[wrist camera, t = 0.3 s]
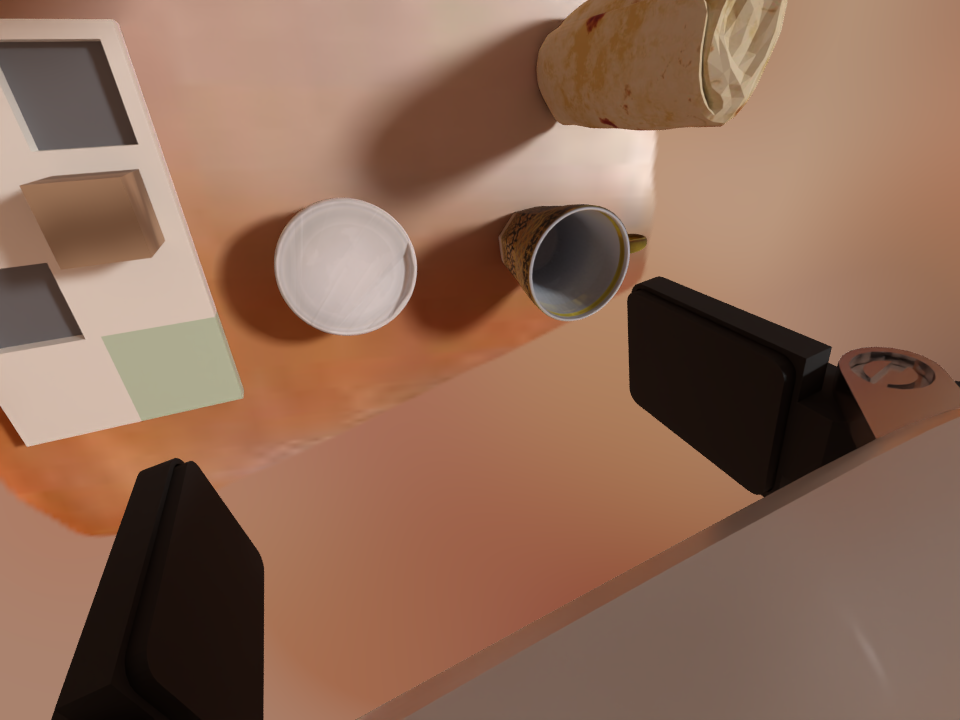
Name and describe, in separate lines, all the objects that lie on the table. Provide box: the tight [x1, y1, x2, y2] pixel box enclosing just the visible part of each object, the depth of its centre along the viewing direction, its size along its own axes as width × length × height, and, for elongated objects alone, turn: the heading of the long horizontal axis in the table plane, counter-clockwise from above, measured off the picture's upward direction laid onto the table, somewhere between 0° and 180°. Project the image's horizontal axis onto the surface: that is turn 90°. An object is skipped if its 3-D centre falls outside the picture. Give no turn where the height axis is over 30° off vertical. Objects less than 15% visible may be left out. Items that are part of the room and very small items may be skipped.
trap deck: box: [0, 19, 244, 447], centre depth 34 cm, size 28×16×2 cm, turn 3°
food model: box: [536, 0, 787, 130], centre depth 34 cm, size 10×7×20 cm
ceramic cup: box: [499, 204, 647, 321], centre depth 44 cm, size 13×10×10 cm
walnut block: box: [20, 169, 165, 270], centre depth 31 cm, size 5×5×5 cm
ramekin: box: [274, 198, 417, 336], centre depth 40 cm, size 11×11×5 cm
